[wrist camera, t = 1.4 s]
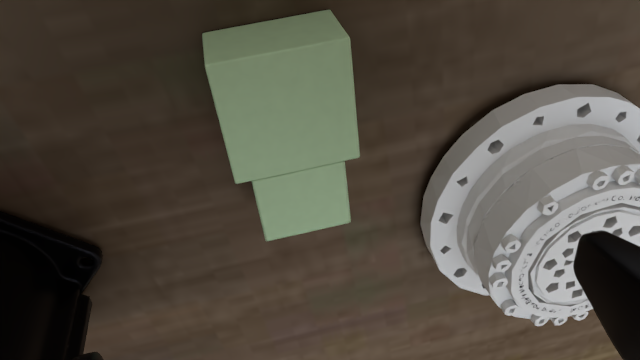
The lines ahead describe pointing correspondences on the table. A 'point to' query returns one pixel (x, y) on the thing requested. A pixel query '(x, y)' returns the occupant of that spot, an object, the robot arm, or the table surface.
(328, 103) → the pad
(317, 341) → the table surface
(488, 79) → the table surface
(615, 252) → the robot arm
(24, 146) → the table surface
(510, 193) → the mechanical component
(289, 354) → the table surface
